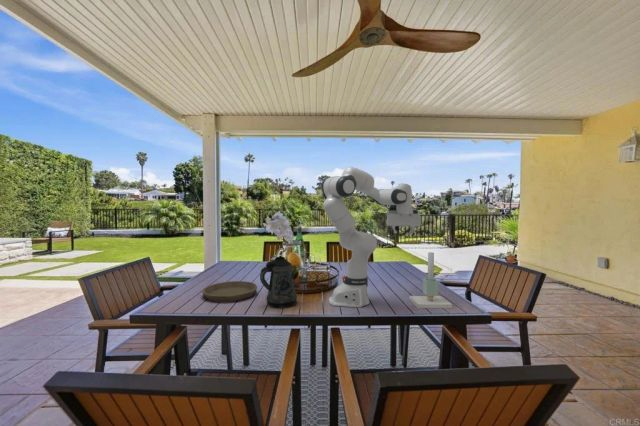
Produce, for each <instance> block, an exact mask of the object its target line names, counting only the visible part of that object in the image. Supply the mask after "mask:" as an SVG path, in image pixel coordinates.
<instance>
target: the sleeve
mask: <svg viewBox="0 0 640 426" xmlns="http://www.w3.org/2000/svg"><path fill="white" fill-rule="evenodd" d="M439 284H440V283H439V280H437V279H436V278H435V277H434V278H433V281H428V277H423V278H422V294H423V295H424V296H439Z"/></svg>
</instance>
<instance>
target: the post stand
mask: <svg viewBox="0 0 640 426" xmlns="http://www.w3.org/2000/svg"><path fill="white" fill-rule="evenodd" d="M434 259H435V253H434V252H431V251H430V252H428V253H427V278H428V281H433V278H434V279H435V277H434V271H435V270H434V268H435V264H434V263H435V262H434V261H435V260H434ZM409 301H411V302H412V304H413V305H414V306H415V307H416V308H417V309H453V303H451V302H450V301H448V300H447V299H445V298H444V297H443V296H442V295H438V296H426V295H410V296H409Z"/></svg>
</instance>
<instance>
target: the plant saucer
mask: <svg viewBox="0 0 640 426" xmlns="http://www.w3.org/2000/svg"><path fill="white" fill-rule="evenodd" d="M257 289H258V285H257V284H256V283H254V282H250V281H243V280H236V281H235V280H233V281H232V280H231V281H224V282H223V281H222V282H218V283H217V282H216V283H213V284H210V285H207V286H206V287H204V288H203V289H202V291H201V292H202V294H203V296H204V297H206V298H207V300H209V301H212V302H217V303H230V302H231V303H232V302H237V301H242V300H245V299H248V298H251V297H252V296H253V295H254V293H256V291H257Z"/></svg>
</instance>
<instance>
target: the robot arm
mask: <svg viewBox="0 0 640 426" xmlns="http://www.w3.org/2000/svg"><path fill="white" fill-rule="evenodd" d="M320 188H321V192H322V195H323V198H324V199H325V200H324V201H323V204H322V207H323V210H324V211H325V214H326V216H327V217H328V219H329V221H330V222H331V223H332V224H333V227H334V229H336V231H337V233H338V235H339V238H338V243H339V245H340V247H341V248H343V249H346V250H347V251H352V254H351V258H350V259H349V260H347V262H346V275H341V279H342V283H341V284H339V285H338V286H336V287H335V288H334V289H333V292H332V295H331V296H330V297H329V298H328V303H329V304H330V306H334V307H344V308H345V307H348V308H362V307H363V306H367V305H369V304H370V299H369V293H368V285H369V278H368V261H369V258H370V257H371V255H372V254H373V252H375V250H376V248H377V246H378V242H377V239H376V236H374V235H373V234H370V233H368V232H363V231H362V232H361V231H359V230H357V229H356V227H355V225H356V219H355V218H354V216H353V214H352V213H351V211H350V210H349V209H348V207H347V206H346V204H345V202H344V198H348V197H351V196H352V195H353V194H354V193H355V191H358V192H360V193H363V194H364V195H366V196H368V197H370V198H371V199H372V200H374V201H375V203H376V204H377V205H378V206H396V210H388V211H386V223H385V224H386V226H387V227H391V228H392V230H393V234H398V230H396V227H410V228H411V230H409V235H413V233H414V230H415V227H419V228H420V226H422V219H421V218H422V217H421V215H420V213H421V212H420V210H417V209H415V208H412V207H413V205H412V199H413V191H412V186H411V185H410V184H408V183H398V185H397V186H395V187H393V188H379V189H378V188H376V187H375V179H374V177H373V176H372V174H370V173H368V172H366V171H365V170H362V169H360V168H358V167H353V166H348V167H346V168H345V169H344V170H343V171H342V174H341V175H340V176H339V175H335V176H328V177H326V178H325V179H323V180H322V182H321V186H320Z"/></svg>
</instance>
